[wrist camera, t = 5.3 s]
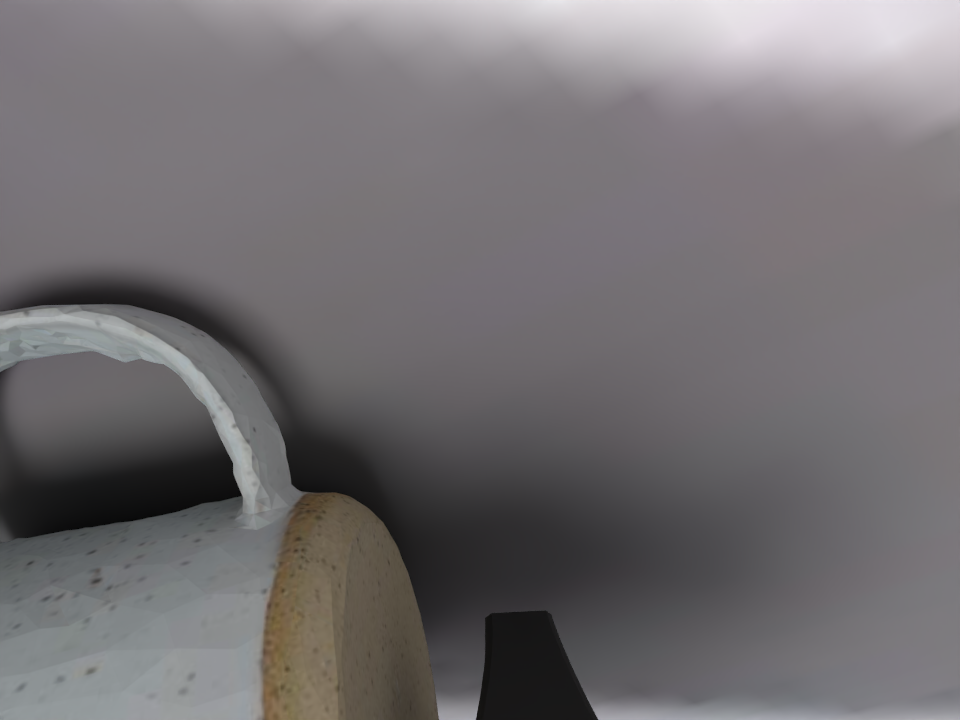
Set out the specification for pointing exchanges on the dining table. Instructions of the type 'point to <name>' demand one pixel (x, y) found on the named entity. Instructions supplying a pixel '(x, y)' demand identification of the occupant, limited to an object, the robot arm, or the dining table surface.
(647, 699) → the dining table surface
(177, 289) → the dining table surface
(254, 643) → the ceramic mug
